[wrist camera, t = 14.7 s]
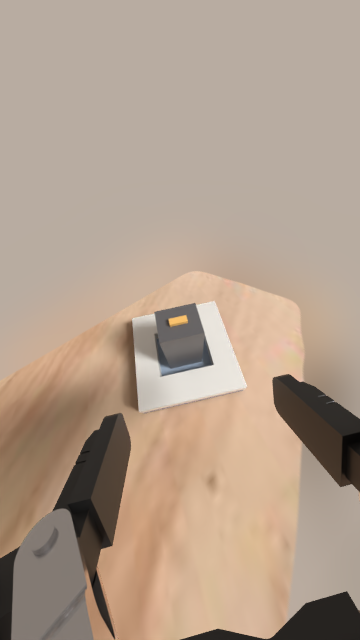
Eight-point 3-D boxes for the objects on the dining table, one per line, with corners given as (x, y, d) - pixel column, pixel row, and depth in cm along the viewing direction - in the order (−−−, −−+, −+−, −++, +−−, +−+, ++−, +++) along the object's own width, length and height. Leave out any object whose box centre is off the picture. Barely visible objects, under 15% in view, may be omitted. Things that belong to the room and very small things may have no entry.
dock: (144, 413, 23) (138, 412, 20) (136, 326, 29) (132, 318, 27) (242, 390, 23) (247, 387, 21) (213, 309, 30) (214, 300, 28)
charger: (170, 368, 24) (158, 341, 16) (166, 345, 26) (153, 309, 18) (201, 361, 25) (204, 331, 17) (195, 338, 26) (195, 300, 18)
